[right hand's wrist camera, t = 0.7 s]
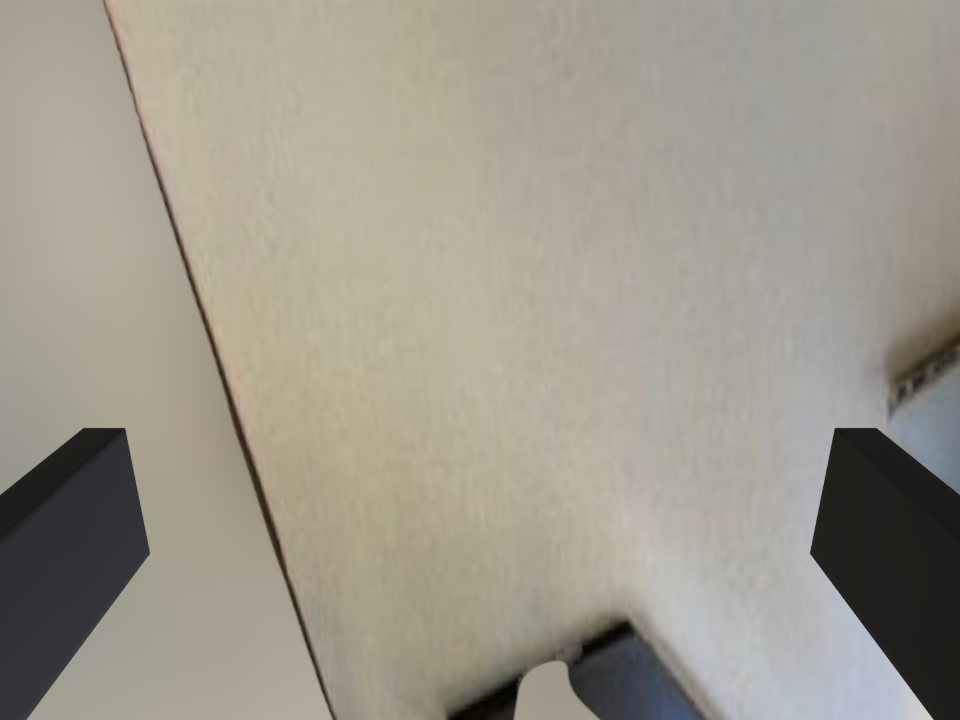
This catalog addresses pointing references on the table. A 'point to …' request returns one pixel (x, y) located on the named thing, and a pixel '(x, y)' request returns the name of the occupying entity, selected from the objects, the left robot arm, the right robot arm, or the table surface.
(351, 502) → the table surface
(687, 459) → the table surface
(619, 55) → the table surface
